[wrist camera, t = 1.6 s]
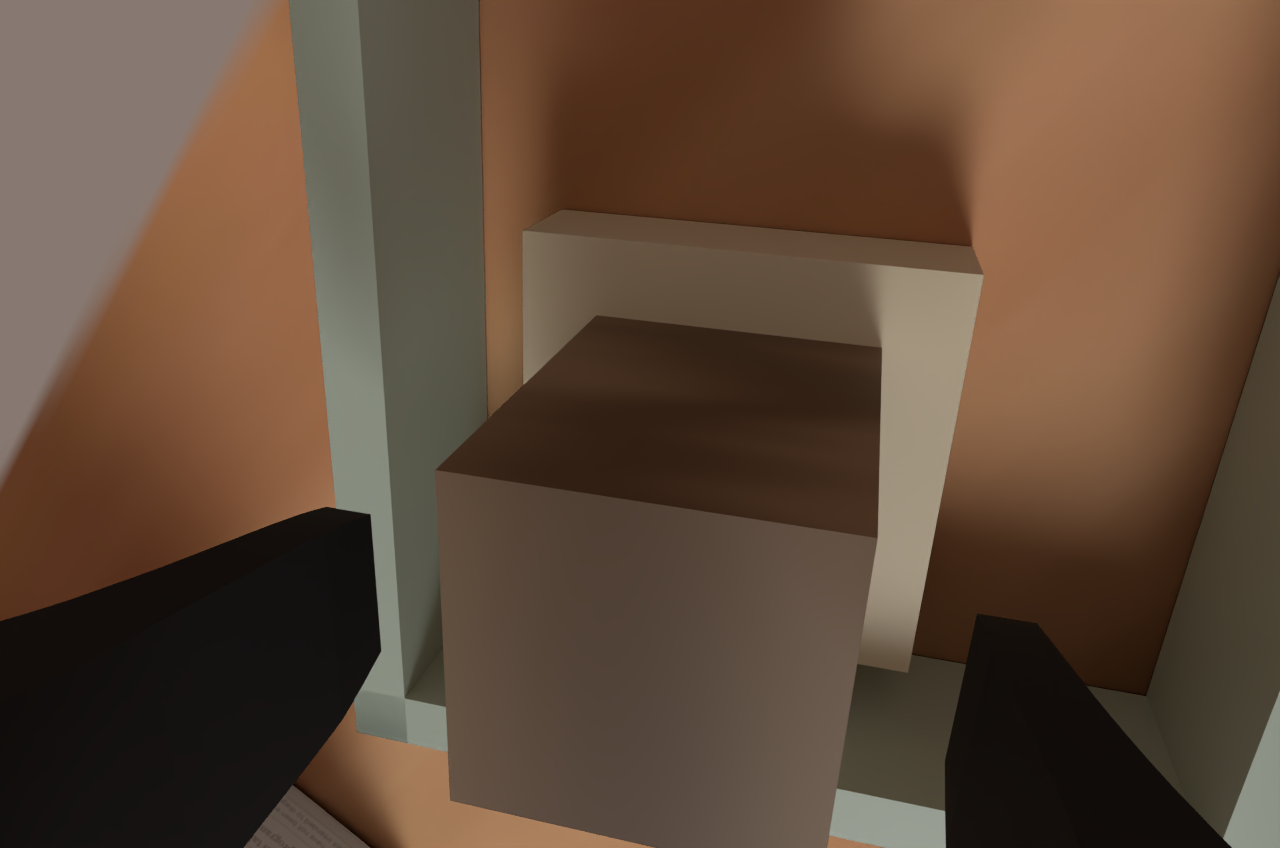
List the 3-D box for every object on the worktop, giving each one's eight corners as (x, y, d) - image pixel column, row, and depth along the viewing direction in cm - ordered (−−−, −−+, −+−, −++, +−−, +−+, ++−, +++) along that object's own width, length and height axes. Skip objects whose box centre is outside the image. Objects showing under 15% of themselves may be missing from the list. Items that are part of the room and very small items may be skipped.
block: (881, 348, 14) (878, 538, 9) (843, 599, 16) (820, 885, 11) (596, 315, 15) (434, 470, 10) (589, 556, 17) (450, 800, 12)
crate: (1454, -11, 13) (1679, -28, 9) (1190, 749, 18) (1266, 930, 14) (421, -46, 16) (281, -71, 12) (449, 611, 21) (356, 731, 17)
